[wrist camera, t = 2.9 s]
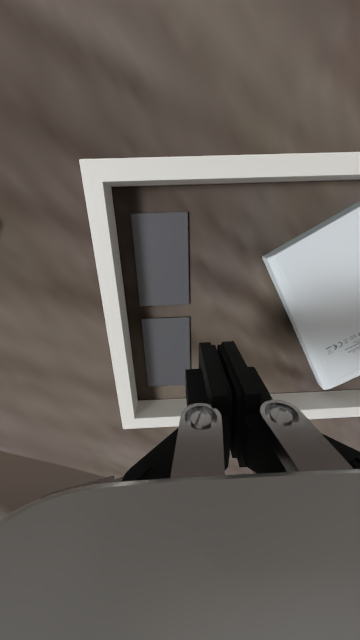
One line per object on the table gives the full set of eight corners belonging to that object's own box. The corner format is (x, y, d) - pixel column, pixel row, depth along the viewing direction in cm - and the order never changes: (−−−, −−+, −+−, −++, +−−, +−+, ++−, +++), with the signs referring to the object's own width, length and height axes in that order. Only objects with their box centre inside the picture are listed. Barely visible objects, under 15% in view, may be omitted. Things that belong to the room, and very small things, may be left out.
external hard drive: (375, 188, 15) (409, 336, 20) (258, 255, 17) (314, 380, 21) (398, 184, 14) (429, 346, 18) (267, 259, 15) (325, 392, 19)
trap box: (91, 167, 14) (67, 151, 11) (638, 152, 15) (771, 133, 11) (127, 410, 21) (119, 445, 17) (495, 391, 21) (553, 421, 18)
